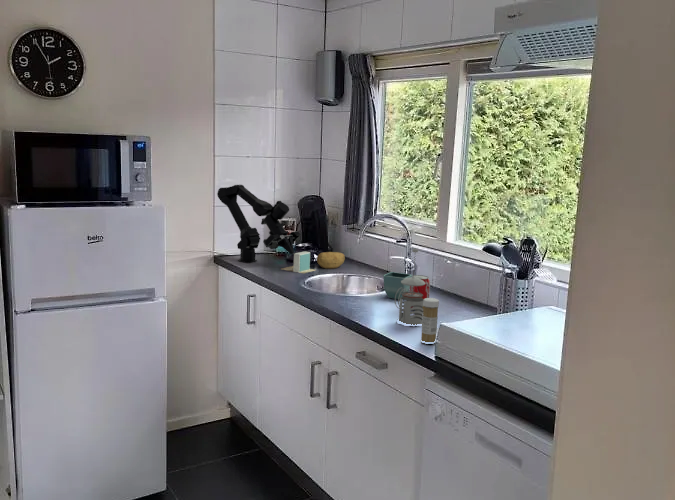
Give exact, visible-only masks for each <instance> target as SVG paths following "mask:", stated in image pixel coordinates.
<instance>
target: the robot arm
mask: <svg viewBox="0 0 675 500" xmlns="http://www.w3.org/2000/svg"><path fill="white" fill-rule="evenodd" d="M216 195H217V197H218V199H219V201H220V202H221V203H222V204H224V205H225V206H226V207H227V208H228V210H229V212H230V214H231V216H232V218H233V221H234V222H235V223H236V226H237V227H238V229H239V231H240V233H239V238H240V241H239V242H238V243H237V245H236V246H237V249H238V250H240V253H239V254H240V259H237V261H238V262H241V263H247V264H251V263H254V262H258V260H257V259H256V249H258V247H259V244H260V242H261V237H260V233H259V231H258V229H257V228H256V227H251V226H250V224H249V222H248V220H247V218H246V216H245V215H244V213H243V211H242V209H241V207H240V205H239V203H238V201H237V200H238V197H240V199H242V200H243V201H244V202H246V203H247V204H248V205H250V206H251V207H252V211H253V212H254V213H255V214H256V215H257V216H258V217H264V216H265V217H264V218H261V221H260V224H261V225H266V226H267V228H268V230H269V231H268V233H269V234H268V235H269V236H268V237H267V238H265V239H263V245H264V246H265V247H266V248H270V250H274V249H278V248H279V247H280V248H282V249H284V250H285V251H287V253H289V254H290V255H294V243H295V242H296V241H297V240H298V239H299V238H300V237H301V233H300V232H299V231H296V230H295V231H291V232H290V233H289V230H286V229H285V228H284V226H285V223H281V222H280V221H281V220H283V218H284V217H285V216H286V215H288V213H289V212H290V208H289V206H288V205H287V204H286V203H285V202H283V201H281V200H277V201H276V202H275V204H274V205H272V204H271V203H270V202H267V201H266V200H262V199H260V198H259V197H257V196H256V195H255V194H254V193H252V192H251V191H250V190H249V189H248V188H246V187H245V186H244V185H243V184H234V185H231V186H228V187H227V186H226V187H219V189H218V190H217V193H216Z"/></svg>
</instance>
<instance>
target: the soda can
mask: <svg viewBox="0 0 675 500" xmlns="http://www.w3.org/2000/svg"><path fill="white" fill-rule="evenodd" d="M414 277H415V278H419V279H421V280H423V281H424V282H425V283H426V284H425V285H423V286H410V288H409V292H412V287H413V292H416V293H421V294H423V297H421V298H423V299H425V298H430V294H431V293H430V291H431V282H430V279H429V276H428V275H424V274H423V275H422V274H414ZM413 307H415V306H411V308H413ZM423 308H424V307H423Z"/></svg>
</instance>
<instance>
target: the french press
mask: <svg viewBox="0 0 675 500" xmlns="http://www.w3.org/2000/svg"><path fill="white" fill-rule="evenodd" d="M412 252H413V253H414V254H416V253H419V249H418V248H414V247H413V249H412ZM413 260H414V261H413V268H415V263H416V257H414V259H413ZM414 275H415V271H413V272H412V277H410V278H405V279H404V280H402V281H401V283H402V284H403V285H407V286H423V285H425V284H426V283H425V282H424V281H423V280H421V279H419V278H415V277H414ZM401 288H402V287H401ZM399 289H400V288H399ZM399 289H398V291H399ZM404 289H405V291H403V290H404ZM404 289H403V288H402V291H403V293H400V294H402V296H403V297H401V298H400V299H399V298H398V299H396V295H395V299H394V304H395V307H396V308H397V309H399V310H398V313H399V314H398V319H399V321H401V322H403V323H406V324H411V325H412V324H413V325H415V324H416V325H417V324H422V318H423V306H424V305H423V300H424V299H423V298H421V297H423V294H421V293H416V292H413V287H412V292H410V291H408V292H406V288H404ZM398 291H397V292H398ZM402 291H401V292H402ZM396 294H397V293H396ZM400 294H399V297H400ZM396 300H397V301H396ZM397 304H398V306H397ZM411 306H415V307H413V308H411ZM414 310H415V311H414Z"/></svg>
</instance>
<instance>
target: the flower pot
mask: <svg viewBox="0 0 675 500" xmlns="http://www.w3.org/2000/svg"><path fill="white" fill-rule="evenodd" d="M382 276H383V277H382V278H383V288H384V292H385V294H386V296H387V298H389V299H394V300H395V295H396V300H398V298H399V300H400V298H401V297H403V296H402V294H400V293H403V291H405V289H404V288H406V292H410V286H407V285H403V284H402V283H401V281H402V280H404V279H405V278H410V277H413V274H409V273H403V272H395V271H394V272H393V271H390V272H388V273H385V274H384V275H382ZM401 287H402V288H403V289H404V290H403V291H402V288H401ZM399 288H400V289H399ZM398 289H399V291H398ZM397 291H398V292H397ZM401 291H402V292H401ZM396 293H397V294H396ZM399 294H400V297H399Z"/></svg>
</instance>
